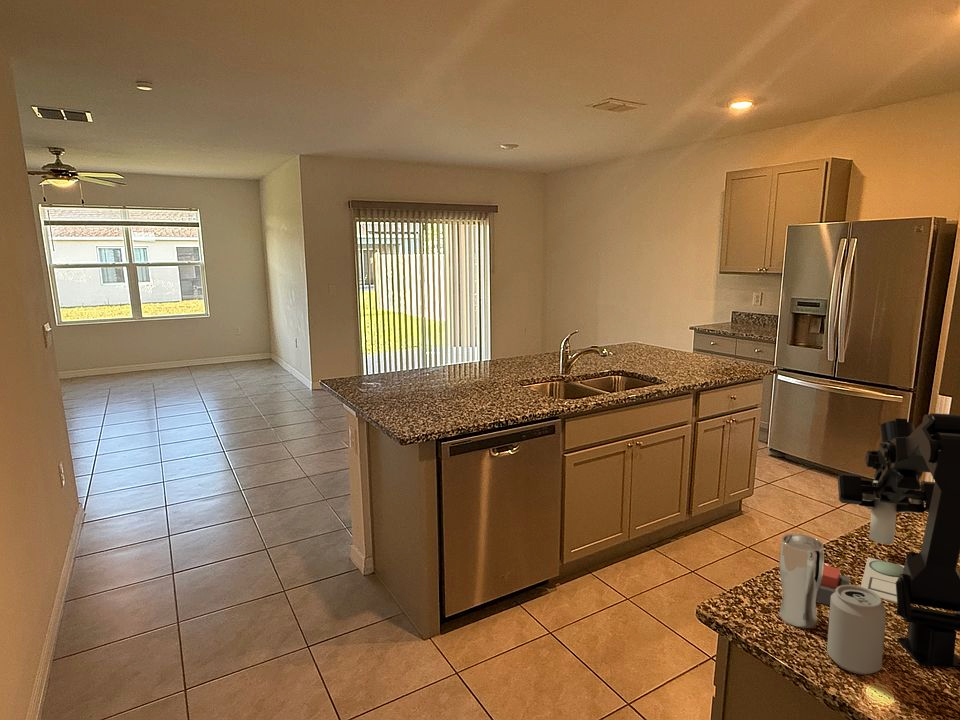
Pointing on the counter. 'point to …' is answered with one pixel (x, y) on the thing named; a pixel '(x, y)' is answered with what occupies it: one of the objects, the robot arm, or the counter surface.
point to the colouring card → (882, 578)
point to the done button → (830, 577)
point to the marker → (883, 522)
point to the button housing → (830, 591)
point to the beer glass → (800, 578)
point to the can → (856, 629)
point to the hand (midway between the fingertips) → (882, 508)
